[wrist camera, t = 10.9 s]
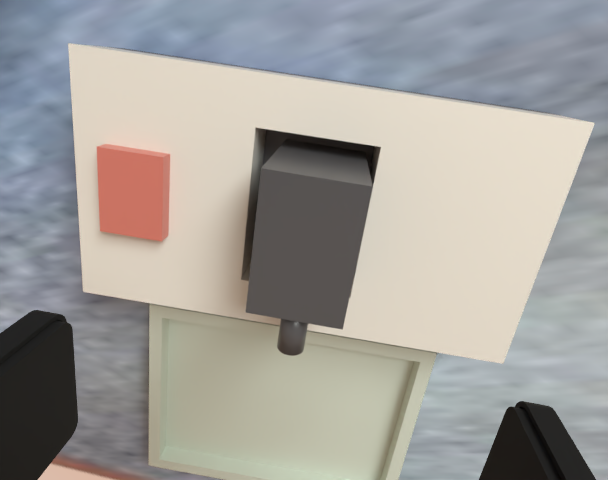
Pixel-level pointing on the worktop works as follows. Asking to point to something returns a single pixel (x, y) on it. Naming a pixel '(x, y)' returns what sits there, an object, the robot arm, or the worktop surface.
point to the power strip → (326, 131)
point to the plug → (307, 237)
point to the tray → (278, 401)
